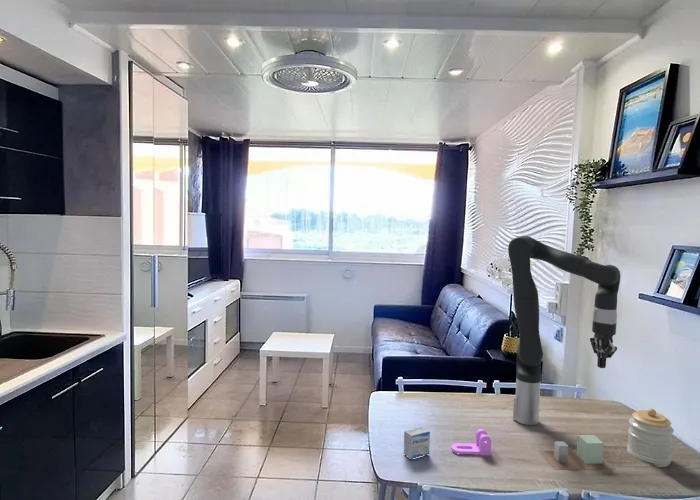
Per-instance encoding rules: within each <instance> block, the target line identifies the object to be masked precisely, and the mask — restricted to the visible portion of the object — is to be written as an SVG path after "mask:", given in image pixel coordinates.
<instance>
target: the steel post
mask: <svg viewBox="0 0 700 500" xmlns="http://www.w3.org/2000/svg"><path fill="white" fill-rule="evenodd" d="M553 444H554V445H553V450H554V458H555V459H556V460H557V461H558V462H568V450H569V449H570V447H569V445H568V444H567V443H566V442H565V441H560V440H559V441H554V443H553Z"/></svg>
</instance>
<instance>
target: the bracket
mask: <svg viewBox="0 0 700 500" xmlns="http://www.w3.org/2000/svg"><path fill="white" fill-rule="evenodd" d="M459 448H461V449H459ZM451 449H452V451H454V452H455V453H459V454H475V455H474V456H479V455H478V454H481V455H480V456H491V455H492V451H491V450H492V439H491V437H490V436H489V435H488V433H487V431H486V430H485V429H484V428H479V429H477V430H476V432H475V443H462V442H461V443H457V442H456V443H453V444H451V448H450V450H451ZM452 451H451V452H452ZM455 453H454V454H455Z"/></svg>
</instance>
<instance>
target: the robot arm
mask: <svg viewBox="0 0 700 500" xmlns="http://www.w3.org/2000/svg"><path fill="white" fill-rule="evenodd" d="M507 248H508V249H507V250H508V256H509V261H510V262H509V263H510V267H511V274H512V277H511V278H512V291H513V293H512V294H513V302H514V303H513V305H514V312H515V318H516V321H517V325H518V332H519V343H518V344H517V349H516V369H515V370H516V380H515V395H514V397H513V410H512V420H513V421H516V422H517V423H519V424H522V425H526V426H536V425H538V424H539V422H540V404H541V383H542V382H541V381H542V372H541V371H542V369H541V368H542V367H541V366H542V365H541V363H542V360H543V358H544V351H543V347H542V342H541V336H540V326H539V325H540V300H539V291H538V288H537V285H536V282H535V280H534V278H533V275H532V271H531V259H533V260H534V259H535V260H540V261H543V262H546V263H548V264H550V265H553V267H555V268H556V269H557V268H558V269H560V271H564V272H566V273H570V274H572V275H576V276H579V277H581V278H582V277H583V278H585V279H586V280H588V281H591V282H593V283H595V284H598V285H597V292H595V296H594V308H593V313H592V324H591V325H592V326H591V332H592V333H593V334H594V335H593V337H590V338H589V341H590V345H591V347H592V350H593V353H594V354H596V357H597V362H596V363H597V365H596V366H597V367H598V368H599V369H605V368H606V366H607V359H611V358H612V357H613V356H614V354H615V352H616V351H618V347H617V346H614V344H613V343H614V340H613V337H614V336H615V335H616V334H617V321H618V312H617V311H618V310H617V308H618V293H619V290H620V283H621V271H620V269H619V268H618V267H617V266H615V265H613V264H606V265H605V264H602V263H601V264H600V263H598V262H594V261H592V260H591V259H589V258H587V257H585V256H581V255H578V254H574V253H570V252H568V251H563V250H561V249H558V248H554V247H552V246H550V245H548V244H545V243H543V242H541V241H539V240H537V239H535V238H533V237H531V236H528V235H521V236H516V237H514V238H512V239H511V240H510V241H509V244H508V247H507Z"/></svg>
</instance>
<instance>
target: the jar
mask: <svg viewBox="0 0 700 500" xmlns="http://www.w3.org/2000/svg"><path fill="white" fill-rule="evenodd" d="M631 416H632V417H630V418H629V419H628V422H629V424H630V425H629V426H630V427H629V428H628V429H627V432H628V435H627V436H628V438H627V439H628V440H627V445H626V450H627V452H628V453H629V454H630V455H631V456H632V457H634V458H637V459H638V460H640V461H643V462H646V463H651V464H652V465H654V466H655V467H657V468H666V467H669V466H670V465H671V463H672V449H673V447H672V446H673V441H674V439H673V437H672V434H673V433H674V432H675V431H674V428H673V427H672V426H671V425H672V422H671V420H670V419H669V418H667V417H666V416H665V415H664V414H662V413H660V412H657V411H656V410H655V409H654V408H651V407H650V408H648V409H647V410H644V409H642V410H637V411H634V412H633V413H632V415H631Z"/></svg>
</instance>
